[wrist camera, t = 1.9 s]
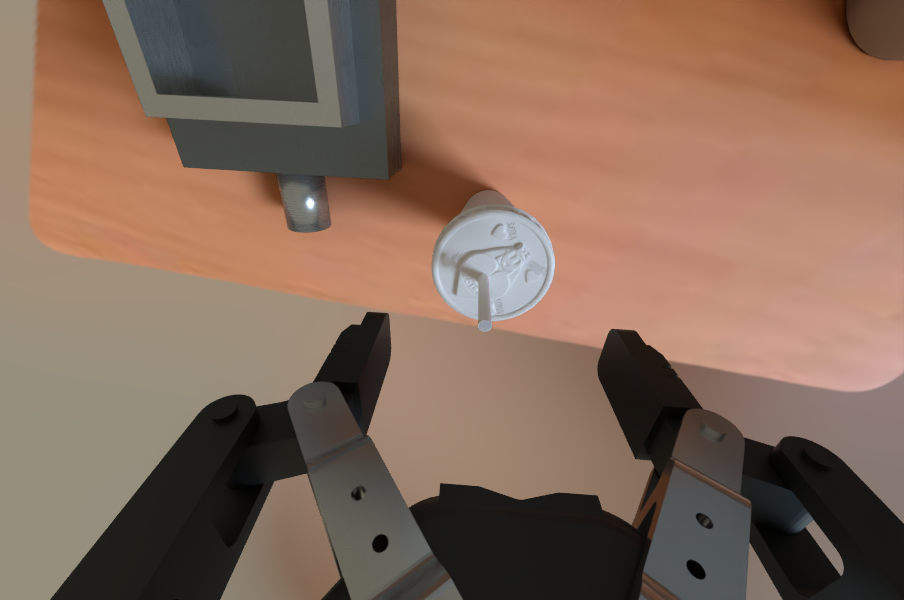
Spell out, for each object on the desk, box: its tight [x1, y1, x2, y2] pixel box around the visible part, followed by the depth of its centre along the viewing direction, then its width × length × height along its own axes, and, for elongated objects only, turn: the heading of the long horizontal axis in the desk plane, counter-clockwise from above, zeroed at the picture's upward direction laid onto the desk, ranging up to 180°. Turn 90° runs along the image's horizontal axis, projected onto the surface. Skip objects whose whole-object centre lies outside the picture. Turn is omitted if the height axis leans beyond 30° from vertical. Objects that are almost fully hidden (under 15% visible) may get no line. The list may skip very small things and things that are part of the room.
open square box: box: [102, 0, 401, 232], centre depth 18 cm, size 13×20×7 cm, turn 178°
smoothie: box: [432, 190, 555, 331], centre depth 19 cm, size 6×6×14 cm
